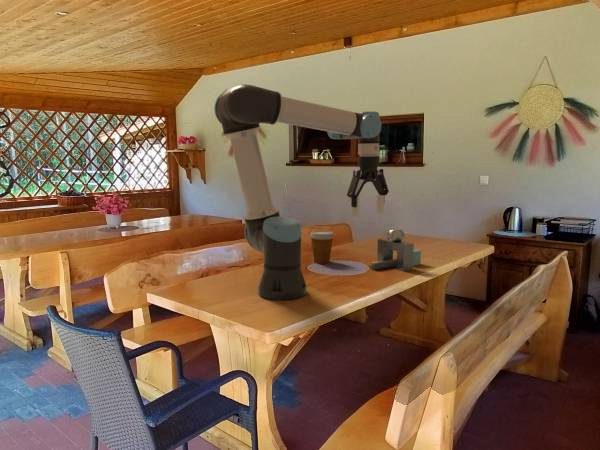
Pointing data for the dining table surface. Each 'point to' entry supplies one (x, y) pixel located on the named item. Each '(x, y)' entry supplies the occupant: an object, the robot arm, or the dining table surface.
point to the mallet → (394, 262)
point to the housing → (398, 245)
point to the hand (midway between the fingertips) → (368, 214)
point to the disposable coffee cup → (321, 245)
